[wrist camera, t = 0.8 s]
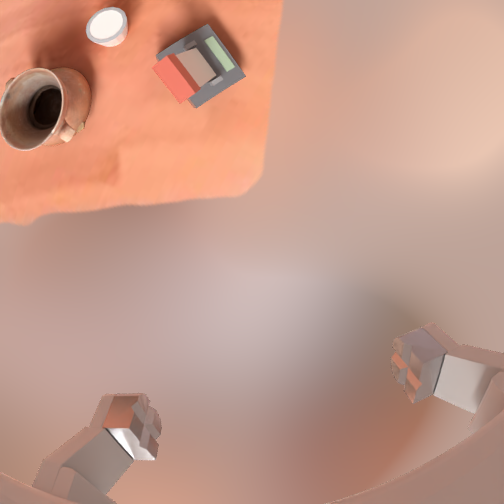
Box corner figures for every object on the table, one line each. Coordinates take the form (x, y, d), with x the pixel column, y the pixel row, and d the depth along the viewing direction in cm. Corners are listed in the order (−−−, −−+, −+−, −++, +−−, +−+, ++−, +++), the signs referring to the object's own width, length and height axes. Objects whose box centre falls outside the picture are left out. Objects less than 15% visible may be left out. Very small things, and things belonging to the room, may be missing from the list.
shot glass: (87, 42, 31) (77, 34, 26) (111, 12, 30) (104, 1, 24) (115, 55, 35) (108, 49, 29) (139, 26, 33) (135, 15, 28)
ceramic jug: (115, 100, 40) (96, 99, 28) (67, 161, 42) (38, 182, 30) (55, 50, 30) (23, 37, 18) (11, 111, 32) (-28, 119, 20)
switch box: (193, 107, 45) (198, 108, 39) (156, 59, 38) (155, 52, 32) (238, 78, 44) (250, 75, 38) (203, 30, 37) (210, 19, 31)
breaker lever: (208, 81, 39) (179, 103, 31) (186, 53, 36) (151, 67, 27) (220, 73, 38) (195, 93, 30) (199, 44, 34) (166, 55, 26)
